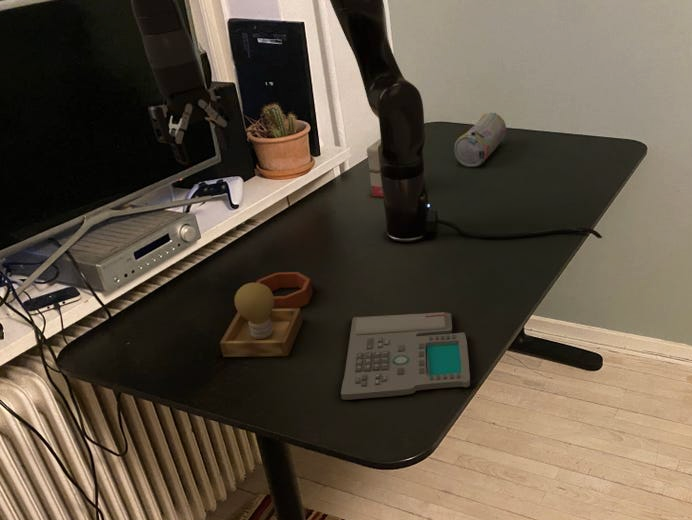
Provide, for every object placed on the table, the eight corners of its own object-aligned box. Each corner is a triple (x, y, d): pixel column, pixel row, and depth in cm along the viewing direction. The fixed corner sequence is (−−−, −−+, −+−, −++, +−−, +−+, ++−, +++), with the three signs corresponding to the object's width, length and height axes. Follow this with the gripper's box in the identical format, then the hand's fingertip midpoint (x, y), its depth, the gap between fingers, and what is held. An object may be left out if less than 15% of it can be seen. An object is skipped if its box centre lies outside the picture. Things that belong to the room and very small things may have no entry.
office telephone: (350, 310, 129) (462, 302, 130) (352, 323, 131) (463, 315, 131) (339, 387, 110) (471, 377, 111) (341, 401, 111) (471, 391, 112)
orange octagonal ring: (316, 285, 143) (313, 271, 141) (304, 311, 134) (301, 297, 133) (264, 286, 143) (261, 272, 141) (250, 312, 135) (246, 298, 133)
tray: (302, 321, 131) (300, 308, 130) (288, 356, 122) (285, 342, 121) (242, 322, 132) (239, 309, 130) (223, 357, 123) (219, 343, 121)
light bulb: (288, 328, 128) (277, 278, 123) (268, 348, 123) (256, 296, 118) (257, 323, 130) (245, 274, 125) (236, 342, 125) (223, 291, 120)
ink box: (389, 198, 178) (384, 150, 171) (371, 196, 179) (365, 149, 173) (403, 185, 185) (398, 139, 178) (386, 183, 186) (380, 137, 179)
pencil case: (483, 170, 192) (482, 134, 186) (453, 167, 194) (451, 131, 189) (508, 145, 208) (507, 111, 202) (479, 142, 210) (478, 109, 205)
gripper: (148, 71, 114) (184, 171, 123) (222, 50, 123) (250, 145, 132) (123, 70, 118) (159, 167, 127) (196, 50, 127) (225, 142, 136)
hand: (206, 156), depth 129 cm, fingers open, 8 cm apart
